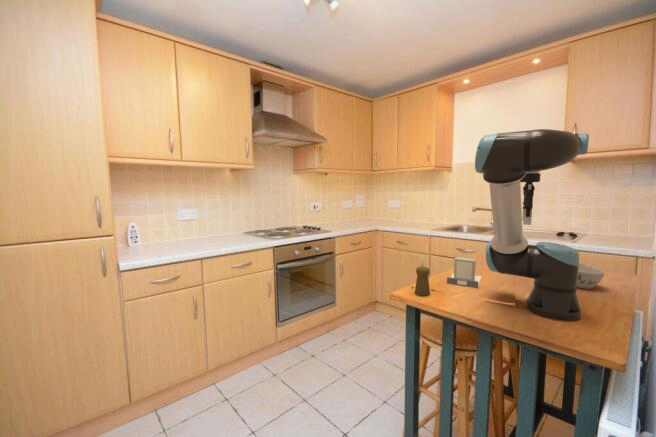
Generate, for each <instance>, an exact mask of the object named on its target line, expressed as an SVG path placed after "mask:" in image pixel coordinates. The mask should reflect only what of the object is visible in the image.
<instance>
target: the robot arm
mask: <svg viewBox="0 0 656 437" xmlns="http://www.w3.org/2000/svg"><path fill="white" fill-rule="evenodd" d="M589 139H590V136H589V133H586V132H585V133H582V132H581V133H579V132H578V133H573V132H569V131H566V130H559V129H548V128H543V129H542V128H540V129H533V130H532V129H531V130H530V129H529V130H521V131H519V130H518V131H511V132H510V131H509V132H501V133H500V132H497V133H493V134H486V135H484V136H482V138H480V140H479V142H478V144H477V148H476V152H475V159H474V169H475V171H476V173H478V174H482V176H483V181H485V182H486V183H488V185H489V186H488V187H489V195H490V203H491V204H490V205H491V206H490V207H491V216H492V224H493V225H492V227H493V234H494V236H493V237H492V238H491V239H490V241H488V242H487V244H486V248H485V261H486V265H487V267H488V269H489V270H490V271H492V272H495V273H497V274H501V275H502V274H503V275H510V276H516V277H521V278H527V279H528V278H529V279H533V288H532V289H531V291H530V294H529V295H528V297H527V298H526V305H525V306H526V308H527V309H528V311H530V312H532V313H533V314H536V315H538V316H540V317H543V318H546V319H551V320H555V321H556V320H557V321H565V322H574V321H579V320H581V317H582V308H581V304H580V300H579V298H578V295H577V288H578V287H577V278H578V266H579V265H580V253H579V251H577V250H576V249H575V248H573V247H571V246H567V245H565V244H560V243H557V242H556V243H555V242H549V241H538V242H537V243H536V245H534V244H533V245H532V244H529V240H528V239H527V237H525V236H523V225H526V226H527V225H528V226H531V225H532V219H533V218H532V217H533V208H534V205H533V203H534V200H533V199H534V195H535V190H536V188H535V186H534V183H539V182H540V181H541V173H540V172H541V171H546V170H552V169H555V168H557V167H561V166H564V165H566V164H568V163H570V162H572V161H573V160H574V159H575V158H577V157H578V156H580V155H586V154H587V153H588V151H589ZM521 183H525V184H524V186H523V187H522V190H521ZM522 191H523V202H522ZM522 205H523V206H522Z"/></svg>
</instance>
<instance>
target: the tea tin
mask: <svg viewBox="0 0 656 437" xmlns="http://www.w3.org/2000/svg"><path fill="white" fill-rule="evenodd" d="M453 263H454V266H453V267H454V268H453V269H454V270H453V273H454V278H458V279H465V280H472V281H475V275H476V265H477V260H476V258H469V257H468V258H467V257H461V256H459V257H458V256H456V257H455V258H454V262H453Z"/></svg>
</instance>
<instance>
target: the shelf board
mask: <svg viewBox="0 0 656 437" xmlns="http://www.w3.org/2000/svg"><path fill="white" fill-rule="evenodd" d="M481 279H482V275H476V274H475V281H472V280H465V279H458V278H454V272H452V274H451V276H447V277H446V284H448V285H454V286H461V287H467V288H474V289H478V288H479V285H480V282H481Z"/></svg>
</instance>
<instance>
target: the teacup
mask: <svg viewBox="0 0 656 437" xmlns="http://www.w3.org/2000/svg"><path fill="white" fill-rule="evenodd" d="M604 275H605V271H604V270H603V269H600V268H597V267H592V266H588V265H582V264H581V265H579V266H578V278H577V288H579V289H585V290H589V289H591V290H592V289H593V288H594V287H596V286H597V285H599V284H600V283H601V281H602V280H603V279H604Z"/></svg>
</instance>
